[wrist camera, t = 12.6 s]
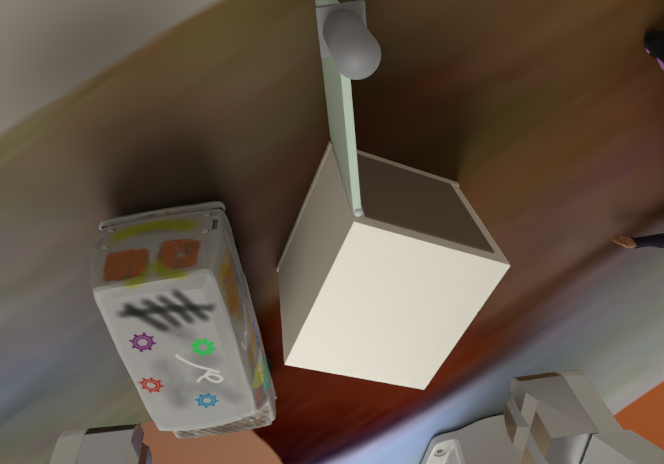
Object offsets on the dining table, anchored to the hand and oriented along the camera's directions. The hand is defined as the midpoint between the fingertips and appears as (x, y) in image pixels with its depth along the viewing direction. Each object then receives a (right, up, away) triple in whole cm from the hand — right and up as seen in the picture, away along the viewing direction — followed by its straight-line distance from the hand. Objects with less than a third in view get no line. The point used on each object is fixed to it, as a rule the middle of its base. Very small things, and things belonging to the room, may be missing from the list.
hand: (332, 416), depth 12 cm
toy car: (-13, -3, +40) cm, 42 cm away
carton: (+3, +5, +36) cm, 37 cm away
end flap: (0, +17, +27) cm, 32 cm away
